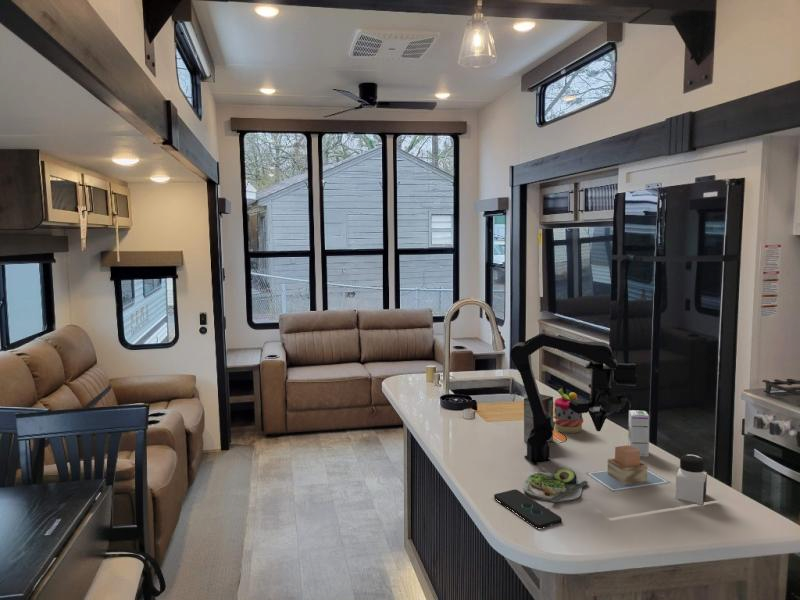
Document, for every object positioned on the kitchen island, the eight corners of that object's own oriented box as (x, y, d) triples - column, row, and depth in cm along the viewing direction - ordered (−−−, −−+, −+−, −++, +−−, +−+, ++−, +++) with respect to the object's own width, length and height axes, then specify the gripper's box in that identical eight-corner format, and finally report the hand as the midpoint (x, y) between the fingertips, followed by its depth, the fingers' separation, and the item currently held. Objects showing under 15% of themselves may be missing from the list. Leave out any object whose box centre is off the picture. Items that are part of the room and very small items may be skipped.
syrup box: (648, 458, 197) (650, 415, 196) (630, 457, 198) (631, 414, 197) (645, 452, 203) (646, 410, 201) (627, 451, 204) (628, 409, 202)
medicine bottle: (703, 506, 163) (705, 463, 162) (674, 500, 167) (676, 458, 166) (706, 496, 169) (707, 455, 168) (678, 490, 173) (680, 450, 172)
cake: (581, 425, 231) (581, 387, 230) (584, 434, 221) (585, 394, 219) (553, 423, 233) (553, 386, 232) (555, 433, 223) (555, 393, 221)
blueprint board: (612, 493, 172) (612, 491, 172) (584, 474, 185) (584, 472, 185) (671, 484, 177) (671, 482, 177) (640, 466, 190) (640, 464, 190)
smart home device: (537, 524, 152) (492, 494, 170) (537, 531, 152) (492, 500, 170) (563, 517, 155) (516, 488, 173) (563, 524, 156) (516, 494, 173)
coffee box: (538, 435, 220) (539, 393, 219) (553, 440, 216) (554, 396, 214) (523, 441, 214) (523, 398, 213) (538, 446, 210) (538, 401, 208)
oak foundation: (623, 484, 176) (624, 469, 176) (607, 474, 184) (607, 459, 183) (647, 481, 178) (647, 465, 178) (629, 470, 186) (630, 456, 185)
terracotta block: (625, 469, 177) (625, 452, 177) (614, 462, 182) (615, 446, 182) (639, 466, 179) (640, 450, 178) (629, 460, 184) (629, 445, 183)
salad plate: (583, 512, 162) (583, 496, 161) (517, 502, 168) (517, 486, 168) (588, 483, 179) (589, 468, 179) (528, 475, 186) (528, 461, 185)
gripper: (587, 391, 178) (585, 442, 180) (642, 387, 183) (639, 437, 185) (568, 382, 189) (566, 430, 191) (620, 378, 194) (618, 425, 195)
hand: (598, 430), depth 190 cm, fingers closed
